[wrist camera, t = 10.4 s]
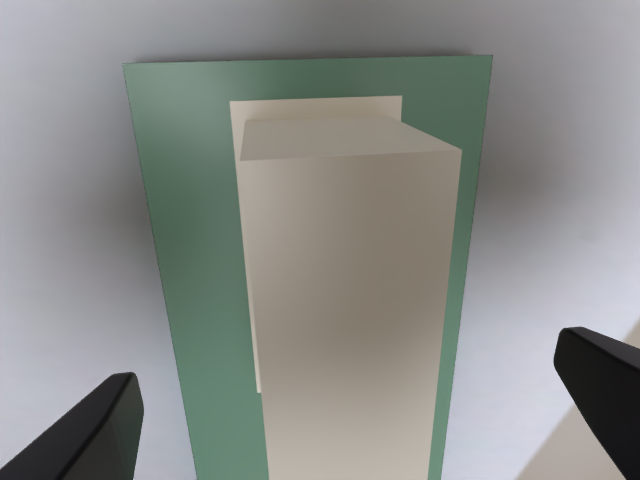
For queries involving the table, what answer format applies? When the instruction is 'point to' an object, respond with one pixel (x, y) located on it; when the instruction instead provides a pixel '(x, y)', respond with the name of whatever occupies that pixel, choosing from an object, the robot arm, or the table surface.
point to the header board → (229, 217)
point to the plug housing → (348, 290)
